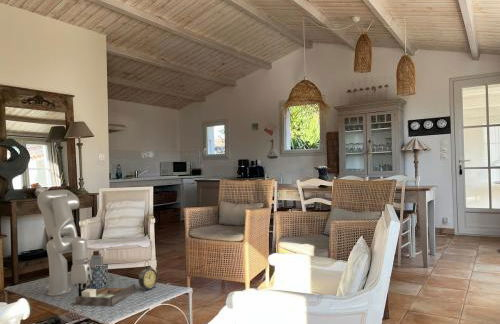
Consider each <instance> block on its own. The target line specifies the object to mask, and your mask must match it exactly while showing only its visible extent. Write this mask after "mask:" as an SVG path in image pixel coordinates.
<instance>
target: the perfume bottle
mask: <svg viewBox="0 0 500 324" xmlns="http://www.w3.org/2000/svg"><path fill="white" fill-rule="evenodd" d="M102 255H103V254H102V253H100V250H93V251H92V254H91V255H90V257H91V258H90V259H89V264H90V266H91V265H103V266H104V256H102Z"/></svg>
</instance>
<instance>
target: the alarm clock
mask: <svg viewBox="0 0 500 324" xmlns="http://www.w3.org/2000/svg"><path fill="white" fill-rule="evenodd" d="M146 263H148V265H144V267H145V269H143V270H142V271H140V273H139V275H138V284H139V286H140V287H141V288H142V289H143V293H145V291H146V289H152V288H156V284H157V283H158V282H157V281H158V272H157V271H156V270H155V269H154V268H148V267H149V265H150V262H148V261H145V262H144V264H146Z"/></svg>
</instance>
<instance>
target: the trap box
mask: <svg viewBox="0 0 500 324" xmlns="http://www.w3.org/2000/svg"><path fill="white" fill-rule="evenodd" d="M136 291H137V290H136V284H135V283H133V284H132V285H130V286H127V288H125V287H124V288H123V287H101V289H100V288H97V289H96V297H81V296H79V295H77V296H75V305H76V306H81V305H82V306H99V307H101V306H102V307H114V306H116V305H117V304H118V303H120V302H122V301H124V300H126V299H127V298H129V297H130V296H132V295H133V294H135V293H136Z"/></svg>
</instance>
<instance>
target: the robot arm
mask: <svg viewBox="0 0 500 324" xmlns="http://www.w3.org/2000/svg"><path fill="white" fill-rule="evenodd" d="M36 201H37V206H38V209H39V211H40V212H41V215H42V217H43V222H44V227H45V228H44V229H45V232H46V235H47V236H48V237H49V238H50V237H51V239H50V240H48V241H47V242H46V252H47V258H48V269H49V284H47V285H46V286H45V290H48V291H47V292H46V293H47V296H50V297H56V296H62V295H66V294H68V293H70V292H71V291H72V288H71V287H69V277H68V276H69V275H68V260H67V259H66V258H65V256H64V254H65V255H66V254H67V253H71V256H72V265H71V270H70V279H71V280H70V281H71V284H72V285H73V286H75V287H76V289H77V292H78V296H81V297H82V291H84V290H86V289H87V286H91V284H92V283H91V282H92V274H91V268H90V259H89V257H88V242H87V241H88V240H87V238H82V237H80V236H78V232H77V227H76V224H75V221H74V216H73V212H72V210H77V209H78V208H80V199H79V198H78V196H77V195H76V194H75V193H73V192H72V191H71V190H68V189H55V190H54V189H53V190H46V191H45V190H43V191H41V192H40V193H38V195H37V199H36ZM62 236H63V237H62Z"/></svg>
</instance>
